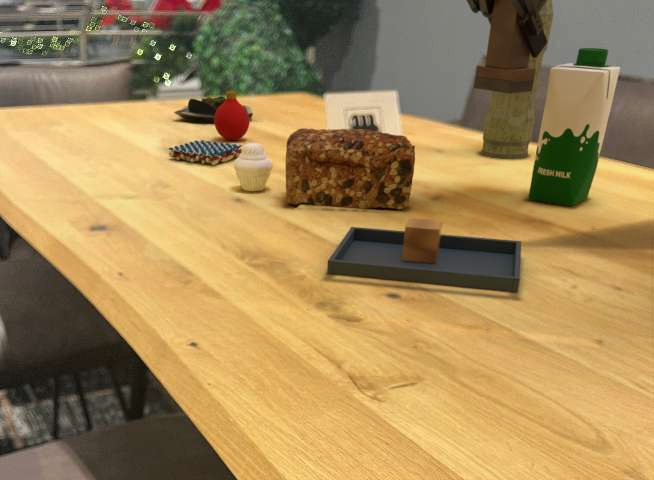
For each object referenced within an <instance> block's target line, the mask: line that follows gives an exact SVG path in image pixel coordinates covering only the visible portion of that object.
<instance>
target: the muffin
mask: <svg viewBox="0 0 654 480" xmlns="http://www.w3.org/2000/svg"><path fill="white" fill-rule="evenodd" d="M241 149H242V151H241V152H242V153H241V154H240V155H239V157H238V158H237V157H236V159H235V160H234V162H233V169H234V171H235V175H236V177H237V180H238V181H239V183H240V185H241V187H242V189H243V190H244V191H247V192H259V191H263V190H264V188H265V187H266V184H267V183H268V181H269V178H270V176H271V172H272V171H273V170H272V169H273V162H272V160H271V159H270V158H269V157H268V155H267V153H265V148H264V146H263V145H262V144H261V143H257V142H254V141H252V142H247V143H245V144H244V145H242V147H241Z"/></svg>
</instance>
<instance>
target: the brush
mask: <svg viewBox="0 0 654 480" xmlns="http://www.w3.org/2000/svg"><path fill="white" fill-rule="evenodd" d="M519 18H520V15H519V14H518V12H517V10H516V9H515V7H514V5H513V4H512V2H511V1H510V0H494V6H493V13H492V20H491V25H490V27H489V34H488V42H487V48H486V55H485V62H484V64H481V65H480V64H479V65H476V67H475V76H474V84H473V89H476V90H483V91H489V92H493V91H495V92H502V93H508V94H511V93H521V92H530V91H532V88H533V83H534V77H535V72H536V68H530V67H528V62H529V57H530V50H529V48H528V45H527V43H526V41H525V38H524V36H523V33H522V31H521V29H520V26H519V24H518V20H519Z"/></svg>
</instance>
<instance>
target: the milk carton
mask: <svg viewBox="0 0 654 480" xmlns="http://www.w3.org/2000/svg"><path fill="white" fill-rule="evenodd" d="M608 55H609V49H606V48H596V47H594V48H593V47H583V48H581V47H580V48H578V52H577V55H576V56H577V57H576V62H575V63H564V64H557V65H556V66H554V67H550V69H549V77H548V83H547V92H546V99H545V103H544V109H543V112H542V113H543V114H542V119H541V124H540V130H539V134H538V139H537V145H536V151H535V158H534V163H533V169H532V172H531V173H532V174H531V180H530V186H529V192H528V198H527V199H528V200H530V201H536V202H542V203H548V204H554V205H560V206H567V207H574V206H576V205H578V204H579V203H581V202H582V201H584V200H585V199H588V197H589V194H590V190H591V187H592V185H593V181H594V178H595V175H596V172H597V167H598V164H599V159H600V156H601V152H602V147H603V144H604V139H605V134H606V131H607V125H608V121H609V118H610V113H611V109H612V104H613V100H614V96H615V91H616V87H617V84H618V79H619V75H620V70H621V66H612V65H608V64H606V63H607V59H608Z"/></svg>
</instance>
